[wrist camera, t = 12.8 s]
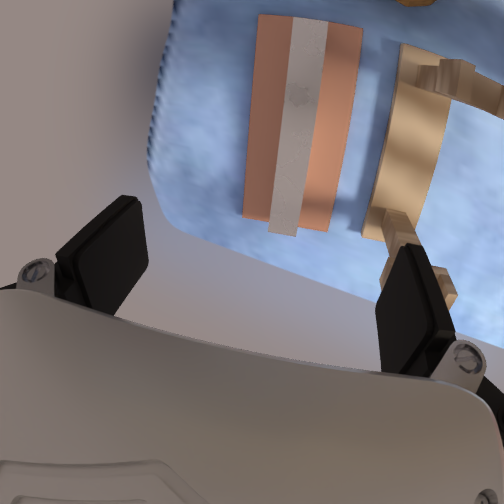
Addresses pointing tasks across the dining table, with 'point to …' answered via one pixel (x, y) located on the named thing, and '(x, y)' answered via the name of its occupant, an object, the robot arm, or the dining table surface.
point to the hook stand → (420, 146)
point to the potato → (416, 2)
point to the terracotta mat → (326, 125)
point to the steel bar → (297, 122)
